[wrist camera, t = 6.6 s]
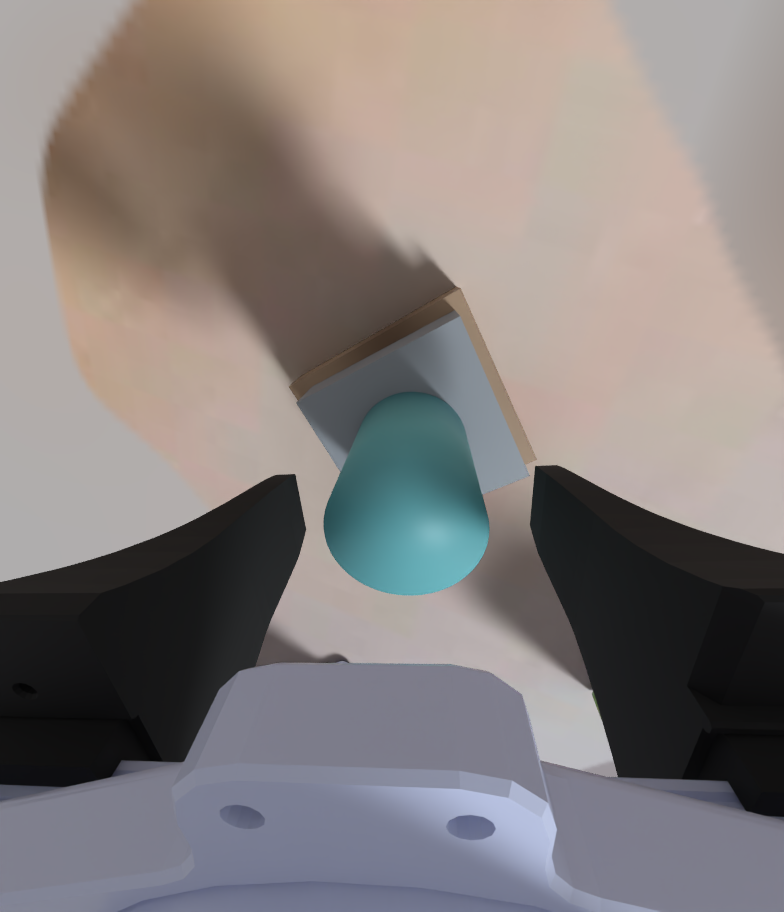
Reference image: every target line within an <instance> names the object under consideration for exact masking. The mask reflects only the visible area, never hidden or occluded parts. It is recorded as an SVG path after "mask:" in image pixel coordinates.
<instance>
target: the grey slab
mask: <svg viewBox="0 0 784 912" xmlns="http://www.w3.org/2000/svg"><path fill="white" fill-rule="evenodd" d="M402 392H422V393H426V394H430V395H433V396H435V397H437V398H439V399H441V400H443V401H444V402H446V403H447V404H448V405H450V406H451V407H452V408H453V409H454V410H455V412H456V413H457V414H458V416H459V417H460V419H461V421H462V423H463V425H464V428H465V431H466V435H467V439H468V443H469V447H470V450H471V454H472V458H473V462H474V466H475V470H476V473H477V477H478V481H479V485H480V489H481V492H482V495H483V494H485V493H488V492H490V491H493V490H495V489H498V488H500V487H503V486H505V485H508V484H510V483H513V482H515V481H518V480H520V479H523V478H525V477H528V476H530V475H529V473H528V471H527V468H526V466H525V464H524V461H523V459H522V457H521V455H520V452H519V450H518V448H517V445H516V443H515V441H514V439H513V436H512V434H511V432H510V429H509V427H508V425H507V422H506V420H505V418H504V416H503V413H502V411H501V409H500V406H499V404H498V402H497V399H496V397H495V395H494V393H493V390H492V388H491V386H490V383H489V381H488V379H487V376H486V374H485V372H484V370H483V367H482V365H481V363H480V360H479V358H478V356H477V353H476V351H475V349H474V347H473V344H472V342H471V340H470V337H469V335H468V333H467V330H466V328H465V326H464V324H463V321H462V319H461V317H460V315H459V314H458V313H457V312H456V311H455V310H454V311H452V312H450V313H448V314H447V315H445V316H443V317H441V318H439V319H437V320H435V321H434V322H432V323H430V324H428V325H426V326H424V327H422V328H420V329H419V330H417V331H415V332H413V333H411V334H409V335H407V336H406V337H404V338H402V339H400V340H398V341H396V342H394V343H392V344H391V345H389V346H387V347H385V348H383V349H381V350H379V351H378V352H376V353H374V354H372V355H370V356H368V357H366V358H364V359H363V360H361V361H359V362H357V363H355V364H353V365H351V366H350V367H348V368H346V369H344V370H342V371H340V372H338V373H336V374H335V375H333V376H331V377H329V378H327V379H325V380H323V381H322V382H320V383H318V384H316V385H314V386H312V387H311V388H310V389H309V390H308V391H307V392H306V393H305V394H304V395H303V396H302V397H301V398H300V399H299V401H298V402H297V405H298V406H299V408H300V410H301V411H302V413H303V414H304V416H305V417H306V419H307V420H308V422H309V424H310V425H311V427H312V428H313V430H314V431H315V433H316V435H317V436H318V438H319V439H320V441H321V442H322V444H323V445H324V447H325V449H326V450H327V452H328V453H329V455H330V456H331V458H332V460H333V461H334V463H335V464H336V466H337V467H338V469H339V470H340V472H341V470H342V468H343V466H344V463H345V461H346V459H347V456H348V454H349V452H350V449H351V447H352V445H353V442H354V440H355V438H356V435H357V433H358V431H359V428H360V426H361V424H362V421H363V420H364V418H365V416H366V415H367V413H368V412H369V411H370V410H371V408H372V407H373V406H375V405H376V404H377V403H378V402H380V401H381V400H383V399H385V398H387V397H389V396H391V395H394V394H397V393H402Z"/></svg>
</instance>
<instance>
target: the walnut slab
mask: <svg viewBox="0 0 784 912" xmlns="http://www.w3.org/2000/svg"><path fill="white" fill-rule="evenodd" d="M454 310H455V311H456V312H457V313H458V314H459V315H460V317H461V319H462V321H463V324H464V326H465V328H466V330H467V333H468V335H469V337H470V340H471V342H472V344H473V347H474V349H475V351H476V353H477V356H478V358H479V360H480V363H481V365H482V367H483V370H484V372H485V374H486V376H487V379H488V381H489V383H490V386H491V388H492V390H493V393H494V395H495V397H496V399H497V402H498V404H499V406H500V409H501V411H502V413H503V416H504V418H505V420H506V422H507V425H508V427H509V429H510V432H511V434H512V436H513V439H514V441H515V443H516V445H517V448H518V450H519V452H520V455H521V457H522V459H523V461H524V464H528V463H530V462H532V461H535V460H537V459H536V457H535V454H534V452H533V450H532V448H531V445H530V443H529V441H528V439H527V436H526V434H525V432H524V430H523V427H522V425H521V423H520V421H519V418H518V416H517V414H516V412H515V410H514V407H513V405H512V403H511V401H510V398H509V396H508V394H507V392H506V389H505V387H504V385H503V383H502V380H501V378H500V376H499V374H498V371H497V369H496V367H495V365H494V362H493V360H492V358H491V356H490V353H489V351H488V349H487V347H486V344H485V342H484V340H483V338H482V335H481V333H480V331H479V329H478V326H477V324H476V322H475V320H474V317H473V315H472V313H471V311H470V308H469V306H468V304H467V302H466V300H465V297H464V295H463V293H462V291H461V288H458V287H455V288H453V289H452V290H450V291H448V292H446V293H445V294H443V295H441V296H439V297H438V298H436V299H434V300H433V301H431V302H429V303H427V304H426V305H424V306H422V307H420V308H419V309H417V310H415V311H413V312H412V313H410V314H408V315H406V316H405V317H403V318H401V319H400V320H398V321H396V322H394V323H393V324H391V325H389V326H387V327H386V328H384V329H382V330H380V331H379V332H377V333H375V334H373V335H372V336H370V337H368V338H366V339H365V340H363V341H361V342H360V343H358V344H356V345H354V346H353V347H351V348H349V349H347V350H346V351H344V352H342V353H340V354H339V355H337V356H335V357H333V358H332V359H330V360H328V361H327V362H325V363H323V364H321V365H320V366H318V367H316V368H314V369H313V370H311V371H309V372H307V373H306V374H304V375H302V376H301V377H299V378H298V379H297V380H296V381H295V382H294V383H293V384H291V385H290V386H289V388H290V389H291V391H292V392H293V394H294V395H295V397H296V398H297V400H298V401H299V399H300V398H301V397H302V396H303V395H304V394H305V393H306V392H307V391H308V390H309V389H310V388H311V387H312V386H314V385H316V384H318V383H320V382H322V381H323V380H325V379H327V378H329V377H331V376H333V375H335V374H336V373H338V372H340V371H342V370H344V369H346V368H348V367H350V366H351V365H353V364H355V363H357V362H359V361H361V360H363V359H364V358H366V357H368V356H370V355H372V354H374V353H376V352H378V351H379V350H381V349H383V348H385V347H387V346H389V345H391V344H392V343H394V342H396V341H398V340H400V339H402V338H404V337H406V336H407V335H409V334H411V333H413V332H415V331H417V330H419V329H420V328H422V327H424V326H426V325H428V324H430V323H432V322H434V321H435V320H437V319H439V318H441V317H443V316H445V315H447V314H448V313H450V312H452V311H454Z"/></svg>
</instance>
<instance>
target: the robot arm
mask: <svg viewBox="0 0 784 912" xmlns="http://www.w3.org/2000/svg"><path fill="white" fill-rule="evenodd" d="M530 527H531V530H532V534H533V537H534V541H535V544H536V547H537V551H538V554H539V556H540V558H541V561H542V563H543V565H544V567H545V569H546V572H547V574H548V576H549V578H550V580H551V582H552V585H553V587H554V589H555V591H556V593H557V595H558V597H559V600H560V602H561V604H562V606H563V608H564V610H565V613H566V615H567V617H568V619H569V622H570V624H571V626H572V629H573V631H574V634H575V637H576V640H577V643H578V646H579V649H580V652H581V655H582V658H583V661H584V664H585V666H586V670H587V673H588V676H589V679H590V682H591V685H592V689H593V692H594V695H595V698H596V701H597V705H598V708H599V711H600V715H601V718H602V722H603V725H604V729H605V732H606V735H607V739H608V742H609V746H610V749H611V753H612V756H613V760H614V764H615V767H616V771H617V775H618V777H605V776H601V775H597V774H593V773H589V772H585V771H581V770H577V769H573V768H569V767H565V766H561V765H557V764H553V763H549V762H544V761H540V759H539V755H538V751H537V747H536V742H535V738H534V734H533V730H532V726H531V722H530V719H529V715H528V712H527V709H526V706H525V703H524V700H523V696H522V694H521V693H519V692H518V691H516V690H515V689H513V688H512V687H511V686H509V685H508V684H506V683H505V682H503V681H502V680H501V679H499V678H498V677H496V676H495V675H493V674H492V673H490V672H488V671H483V670H478V669H473V668H467V667H462V666H457V665H452V664H376V663H347V662H345V661H339V662H336V663H274V664H269V665H264V666H258V667H255V665H256V662H257V659H258V656H259V653H260V650H261V647H262V643H263V640H264V637H265V634H266V631H267V629H268V626H269V624H270V621H271V618H272V616H273V614H274V612H275V609H276V607H277V605H278V603H279V601H280V598H281V596H282V594H283V592H284V589H285V587H286V585H287V583H288V580H289V578H290V576H291V574H292V571H293V569H294V567H295V564H296V562H297V560H298V557H299V554H300V550H301V547H302V543H303V540H304V536H305V532H306V527H305V522H304V517H303V512H302V506H301V501H300V496H299V491H298V486H297V481H296V476H295V474H288V475H275V476H272V477H270V478H268V479H266V480H264V481H262V482H260V483H259V484H257V485H255V486H254V487H252V488H250V489H248V490H247V491H245V492H243V493H242V494H240V495H238V496H237V497H235V498H233V499H231V500H230V501H228V502H226V503H225V504H223V505H221V506H219V507H217V508H215V509H213V510H212V511H210V512H208V513H206V514H204V515H202V516H201V517H199V518H197V519H195V520H193V521H191V522H189V523H187V524H185V525H182V526H180V527H178V528H176V529H174V530H171V531H169V532H167V533H164V534H162V535H160V536H157V537H155V538H152V539H150V540H147V541H144V542H142V543H139V544H136V545H134V546H131V547H128V548H125V549H123V550H120V551H117V552H114V553H111V554H108V555H105V556H101V557H98V558H95V559H92V560H88V561H85V562H82V563H78V564H75V565H71V566H67V567H63V568H59V569H56V570H52V571H47V572H43V573H39V574H34V575H30V576H26V577H21V578H17V579H13V580H8V581H4V582H0V912H784V554H782V553H778V552H773V551H769V550H765V549H761V548H757V547H753V546H750V545H746V544H742V543H739V542H735V541H732V540H729V539H725V538H722V537H719V536H716V535H712V534H709V533H706V532H703V531H700V530H697V529H694V528H691V527H688V526H685V525H683V524H680V523H677V522H675V521H672V520H670V519H667V518H664V517H662V516H659V515H657V514H654V513H652V512H650V511H647V510H645V509H643V508H641V507H639V506H637V505H634V504H632V503H630V502H628V501H626V500H624V499H622V498H620V497H618V496H616V495H614V494H612V493H610V492H608V491H606V490H604V489H602V488H600V487H598V486H597V485H595V484H593V483H591V482H589V481H587V480H586V479H584V478H582V477H580V476H578V475H576V474H575V473H573V472H571V471H569V470H567V469H565V468H562V467H560V466H557V465H552V466H535V475H534V486H533V497H532V509H531V520H530Z"/></svg>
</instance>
